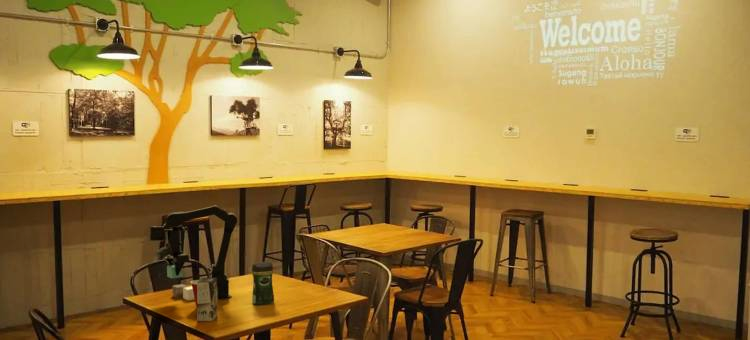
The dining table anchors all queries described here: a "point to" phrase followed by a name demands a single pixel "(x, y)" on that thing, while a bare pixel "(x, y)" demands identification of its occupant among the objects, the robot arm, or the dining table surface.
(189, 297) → the cream block
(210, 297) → the coffee box
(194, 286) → the plastic cup
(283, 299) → the dining table surface
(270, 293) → the coffee jar
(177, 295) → the walnut block
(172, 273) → the teal block
